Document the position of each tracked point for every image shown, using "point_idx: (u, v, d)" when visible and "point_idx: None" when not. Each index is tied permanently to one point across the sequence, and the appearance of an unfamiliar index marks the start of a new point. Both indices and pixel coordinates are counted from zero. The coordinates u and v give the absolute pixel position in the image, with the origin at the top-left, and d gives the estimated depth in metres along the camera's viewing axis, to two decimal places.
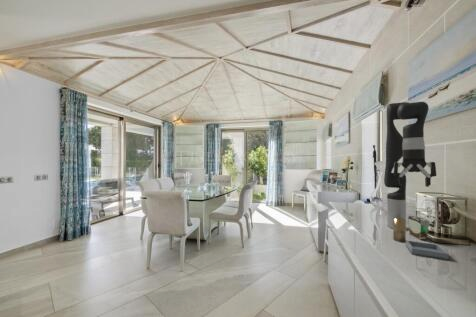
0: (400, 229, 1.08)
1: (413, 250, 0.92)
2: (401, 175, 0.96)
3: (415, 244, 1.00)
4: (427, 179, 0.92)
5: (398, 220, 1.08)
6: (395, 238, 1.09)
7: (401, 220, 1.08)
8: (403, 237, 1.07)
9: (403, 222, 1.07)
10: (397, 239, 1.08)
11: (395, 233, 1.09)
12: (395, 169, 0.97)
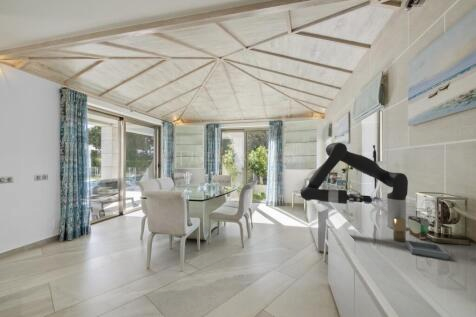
0: (400, 229, 1.08)
1: (413, 250, 0.92)
2: None
3: (415, 244, 1.00)
4: None
5: (398, 220, 1.08)
6: (395, 238, 1.09)
7: (401, 220, 1.08)
8: (403, 237, 1.07)
9: (403, 222, 1.07)
10: (397, 239, 1.08)
11: (395, 233, 1.09)
12: None
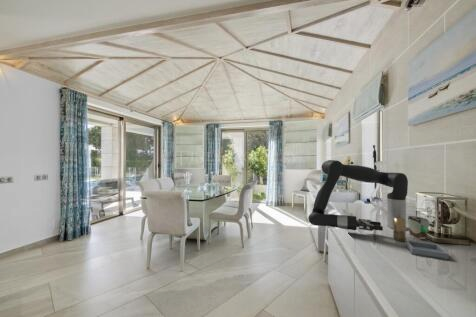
0: (400, 229, 1.08)
1: (413, 250, 0.92)
2: None
3: (415, 244, 1.00)
4: None
5: (398, 220, 1.08)
6: (395, 238, 1.09)
7: (401, 220, 1.08)
8: (403, 237, 1.07)
9: (403, 222, 1.08)
10: (397, 239, 1.08)
11: (395, 233, 1.09)
12: None
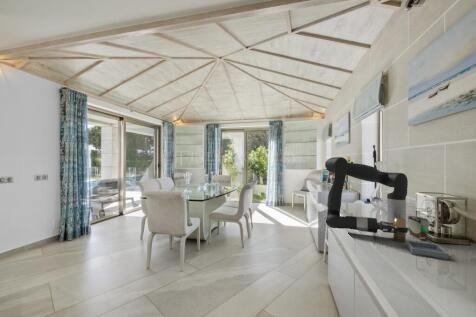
0: None
1: (413, 250, 0.92)
2: None
3: (415, 244, 1.00)
4: None
5: (398, 220, 1.08)
6: (395, 238, 1.09)
7: (401, 220, 1.08)
8: (403, 237, 1.07)
9: (403, 222, 1.07)
10: (397, 239, 1.08)
11: (395, 233, 1.09)
12: None
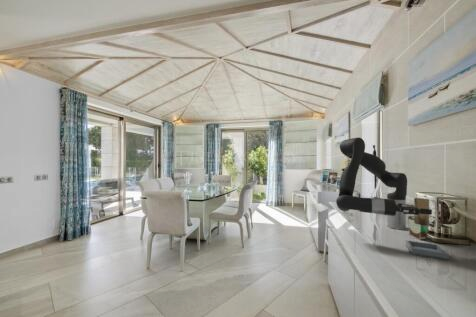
0: None
1: (413, 250, 0.92)
2: None
3: (415, 244, 1.00)
4: None
5: (421, 200, 0.95)
6: (417, 221, 0.96)
7: (424, 200, 0.94)
8: (426, 220, 0.94)
9: (426, 203, 0.94)
10: (419, 222, 0.95)
11: (416, 215, 0.96)
12: None
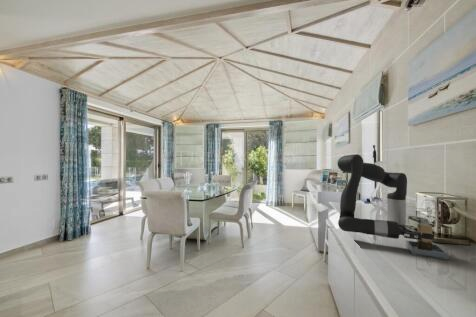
0: None
1: (413, 250, 0.92)
2: None
3: (415, 244, 1.00)
4: None
5: (424, 227, 0.93)
6: (420, 248, 0.94)
7: (427, 227, 0.93)
8: (430, 247, 0.92)
9: (430, 230, 0.93)
10: (423, 249, 0.93)
11: (419, 242, 0.95)
12: None
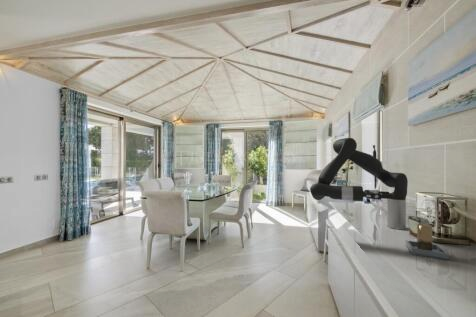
0: (426, 238, 0.93)
1: (413, 250, 0.92)
2: None
3: (415, 244, 1.00)
4: None
5: (424, 227, 0.93)
6: (420, 248, 0.94)
7: (427, 227, 0.93)
8: (430, 247, 0.92)
9: (430, 230, 0.93)
10: (423, 249, 0.93)
11: (419, 242, 0.95)
12: None
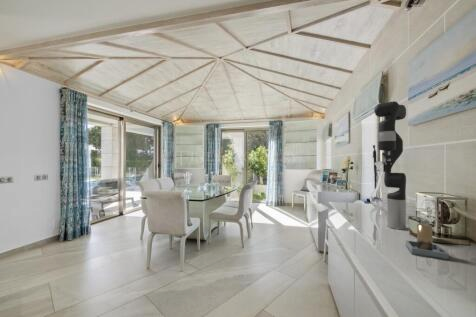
0: (426, 238, 0.93)
1: (413, 250, 0.92)
2: (383, 163, 1.18)
3: (415, 244, 1.00)
4: (385, 166, 1.10)
5: (424, 227, 0.93)
6: (420, 248, 0.94)
7: (427, 227, 0.93)
8: (430, 247, 0.92)
9: (430, 230, 0.93)
10: (423, 249, 0.93)
11: (419, 242, 0.95)
12: None
